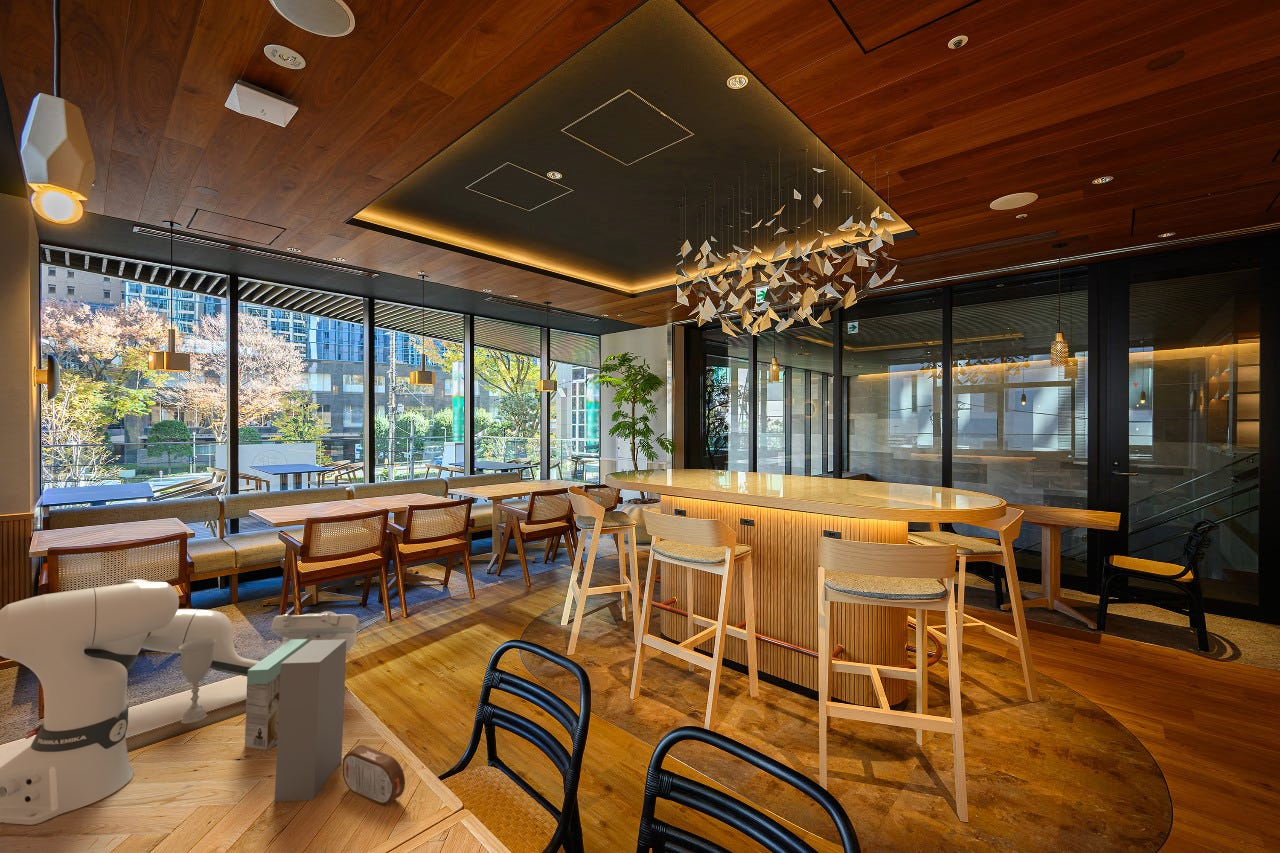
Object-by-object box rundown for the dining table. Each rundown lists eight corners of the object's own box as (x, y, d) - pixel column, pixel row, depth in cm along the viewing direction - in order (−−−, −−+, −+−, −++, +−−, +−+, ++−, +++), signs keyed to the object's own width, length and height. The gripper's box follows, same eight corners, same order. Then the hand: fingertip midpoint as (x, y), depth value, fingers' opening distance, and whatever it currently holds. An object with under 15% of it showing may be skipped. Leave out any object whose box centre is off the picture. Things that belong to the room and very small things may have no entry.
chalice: (194, 726, 124) (198, 650, 125) (166, 725, 124) (170, 649, 125) (219, 710, 132) (223, 638, 132) (193, 710, 132) (197, 638, 132)
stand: (274, 802, 99) (280, 663, 100) (306, 763, 111) (312, 640, 112) (313, 799, 100) (319, 662, 101) (341, 761, 112) (346, 639, 113)
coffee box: (279, 726, 125) (282, 658, 126) (301, 729, 124) (304, 661, 125) (242, 747, 116) (246, 674, 117) (266, 751, 115) (270, 677, 116)
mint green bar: (247, 684, 112) (247, 670, 112) (290, 651, 130) (290, 639, 130) (267, 683, 113) (267, 669, 113) (307, 651, 131) (307, 639, 131)
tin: (405, 803, 99) (407, 758, 100) (391, 813, 96) (393, 767, 97) (352, 780, 106) (354, 738, 106) (338, 790, 103) (339, 746, 103)
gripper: (362, 640, 144) (344, 629, 132) (282, 642, 141) (257, 631, 130) (367, 616, 147) (350, 604, 136) (290, 618, 145) (266, 605, 133)
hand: (304, 617), depth 133 cm, fingers open, 8 cm apart
